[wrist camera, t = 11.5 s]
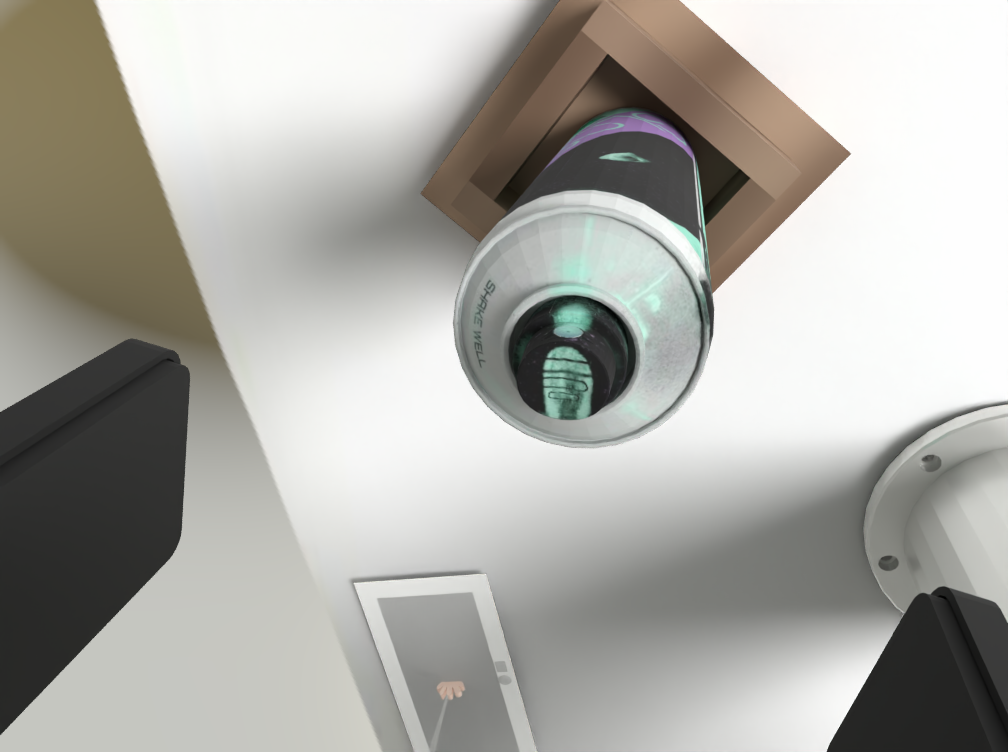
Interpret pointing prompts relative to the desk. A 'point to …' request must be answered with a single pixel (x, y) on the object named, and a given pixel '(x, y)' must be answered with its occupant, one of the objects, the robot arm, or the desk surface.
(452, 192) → the display stand
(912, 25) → the desk surface
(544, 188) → the spray can
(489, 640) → the touchpad
